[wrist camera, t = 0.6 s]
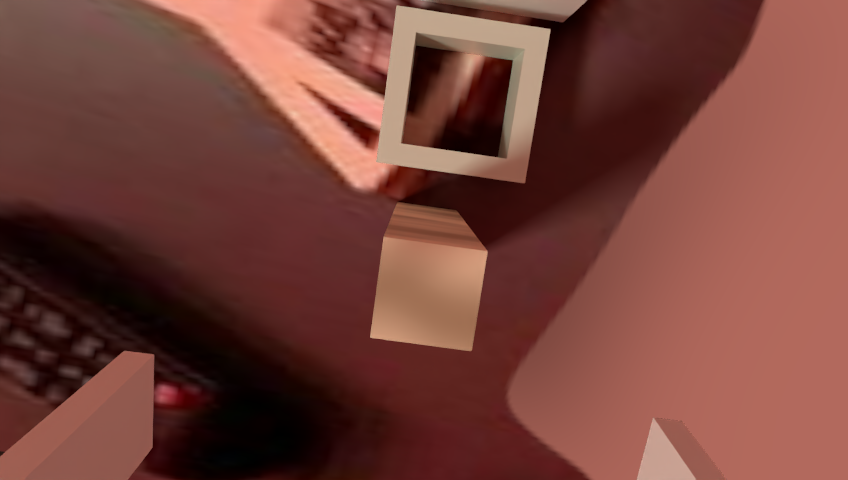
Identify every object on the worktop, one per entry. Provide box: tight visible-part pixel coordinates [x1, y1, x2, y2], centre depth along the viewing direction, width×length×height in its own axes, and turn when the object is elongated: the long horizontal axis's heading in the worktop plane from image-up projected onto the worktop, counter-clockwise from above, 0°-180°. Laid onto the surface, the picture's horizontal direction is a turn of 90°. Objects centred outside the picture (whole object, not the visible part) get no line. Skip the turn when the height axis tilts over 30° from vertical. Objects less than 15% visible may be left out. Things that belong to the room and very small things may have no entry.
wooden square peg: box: [370, 202, 488, 351], centre depth 31 cm, size 4×4×17 cm
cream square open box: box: [376, 6, 551, 183], centre depth 36 cm, size 9×9×4 cm
